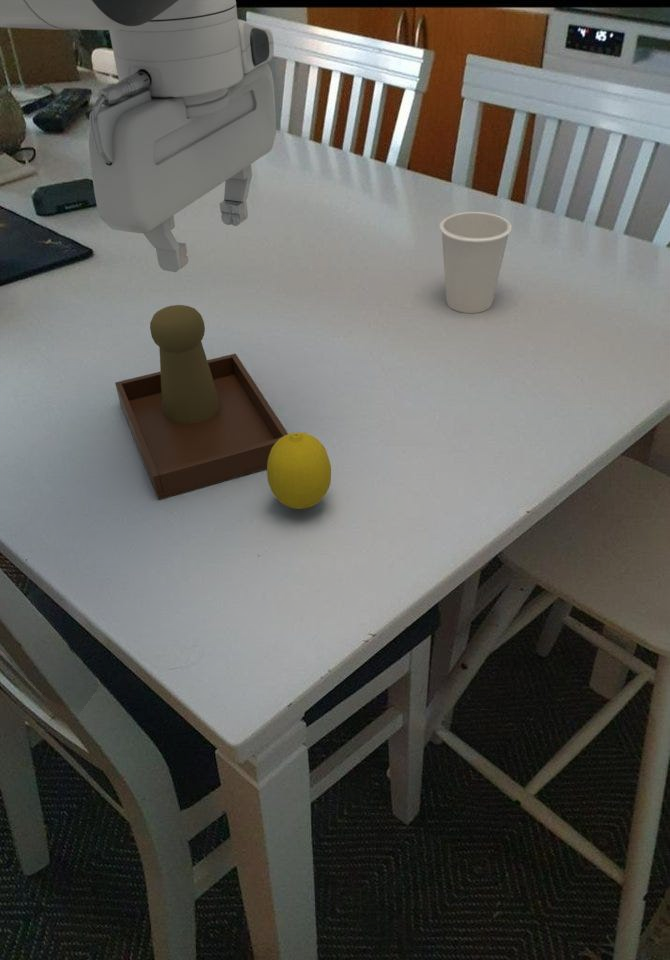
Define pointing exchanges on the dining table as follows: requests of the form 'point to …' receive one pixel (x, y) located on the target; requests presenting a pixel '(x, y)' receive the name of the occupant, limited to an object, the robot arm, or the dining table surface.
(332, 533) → the dining table surface
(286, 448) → the lemon
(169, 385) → the cork
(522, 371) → the dining table surface
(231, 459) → the tray
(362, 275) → the dining table surface
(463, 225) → the dixie cup
